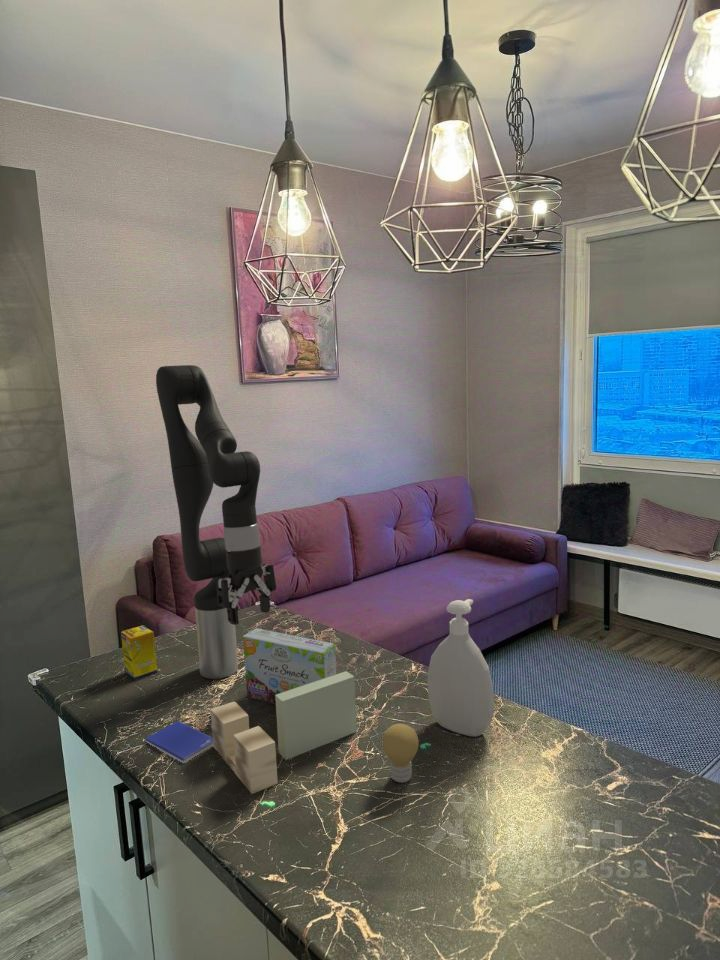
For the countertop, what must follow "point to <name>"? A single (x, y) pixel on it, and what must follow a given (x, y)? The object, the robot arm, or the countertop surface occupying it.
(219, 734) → the slotted block
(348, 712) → the sage plate
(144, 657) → the supplement box
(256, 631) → the snack box
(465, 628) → the soap bottle
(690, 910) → the countertop surface
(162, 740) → the hard drive
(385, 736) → the light bulb
